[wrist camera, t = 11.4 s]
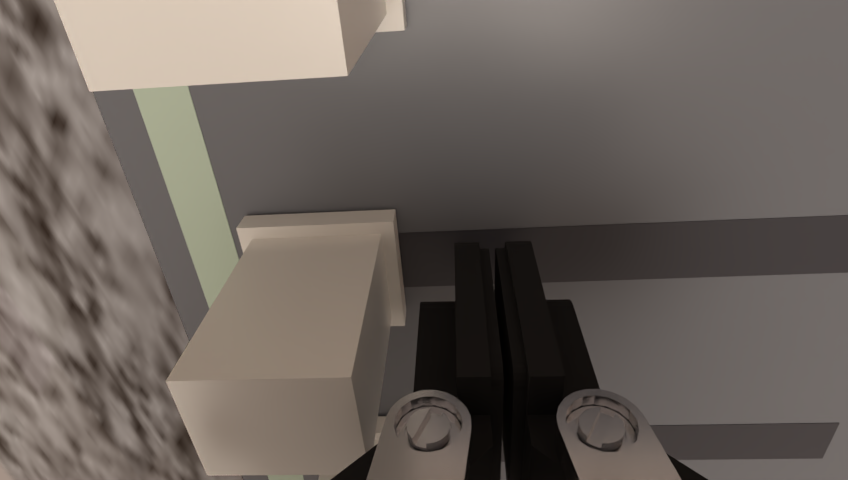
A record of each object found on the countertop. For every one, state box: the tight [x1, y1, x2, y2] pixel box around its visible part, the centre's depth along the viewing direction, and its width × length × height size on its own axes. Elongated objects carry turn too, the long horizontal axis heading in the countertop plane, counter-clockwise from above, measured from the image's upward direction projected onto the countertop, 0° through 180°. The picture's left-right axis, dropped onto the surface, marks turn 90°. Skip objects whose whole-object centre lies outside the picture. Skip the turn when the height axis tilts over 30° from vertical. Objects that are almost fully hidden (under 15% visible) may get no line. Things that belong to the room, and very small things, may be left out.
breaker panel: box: [93, 0, 848, 480], centre depth 14 cm, size 20×22×2 cm
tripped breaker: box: [166, 209, 406, 476], centre depth 11 cm, size 3×4×5 cm
